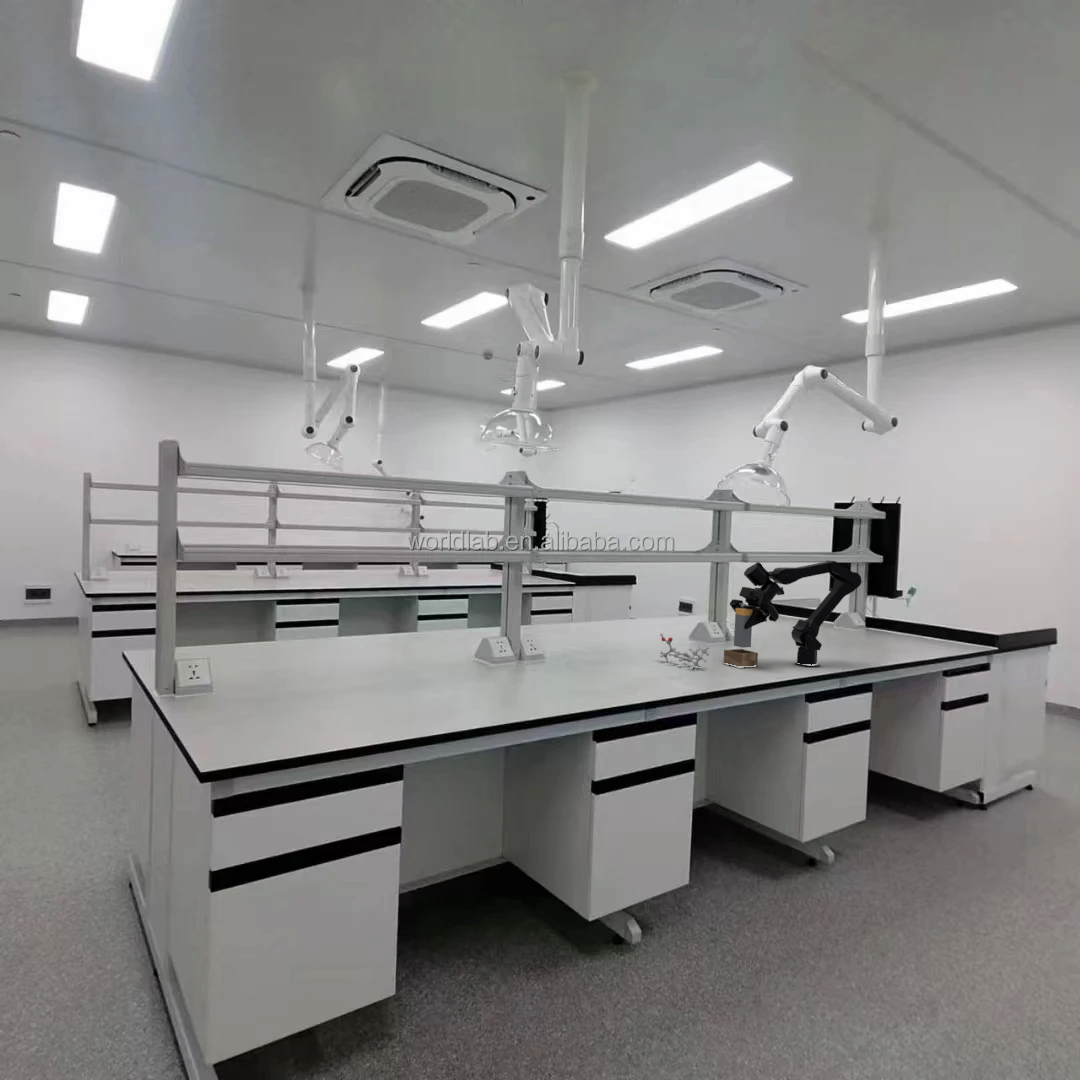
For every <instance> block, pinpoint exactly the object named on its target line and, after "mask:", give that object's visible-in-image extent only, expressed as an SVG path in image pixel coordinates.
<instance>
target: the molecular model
mask: <svg viewBox="0 0 1080 1080" xmlns="http://www.w3.org/2000/svg"><path fill="white" fill-rule="evenodd" d="M659 635H660V637H661V641H662V642H666V645H668V646H669V651H667V652H663V651H660V653H659V654H660V656H659V657H660V658H665V661H666V660H667V661H668V660H669V659H668V656H669V657H671V656H672V657H674V658H676V659H677V658H678V662H679V663H682V662H684V661H685V662H688V663H693V665H692V667H693V668H694V667H695V668H696V667H698V668H699V667H701V668H702V665H700V664H699V662H700V661H701V660H702V661H703V662H704V663H707V659H706V658H703V657H704V654H705V655H706V656H708V657H709V656H710V654H709V652H707V651H708V650H710V646H709V645H707V646H706V648H705V649H703V648H702V646H700V645H699V646H698V647H697V649H696V650H693V648H692V647H689V648H688V651H690V652H691V653H692V655H691V654H689V652H688V651H685V652H684V653H683V652H680V651H679V650H676V649H677V648H676V647H672V645H671V643H672V641H674V640H673V637H671V636H670V637H668V639H666V637H664V633H662V632H660V634H659ZM700 650H701V654H700V655H699V654H698V652H700ZM695 656H696V657H695ZM694 660H696V661H694ZM668 662H669V661H668Z"/></svg>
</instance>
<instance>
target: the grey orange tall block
mask: <svg viewBox="0 0 1080 1080" xmlns="http://www.w3.org/2000/svg"><path fill="white" fill-rule="evenodd" d="M752 611H753V610H752V609H746V608H736V612H735V611H734V612H735V614H734V633H733V634H734V636H733V646H734V647H737V648H741V649H743V648H751V647H752V630H753V628H752V627H753V626H752V627H750V628H748V629H745V628H744V626H745V624H746V623H747V621H748V620H749V618H750V617H751V615H752Z"/></svg>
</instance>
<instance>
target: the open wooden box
mask: <svg viewBox="0 0 1080 1080" xmlns="http://www.w3.org/2000/svg"><path fill="white" fill-rule="evenodd" d="M758 658H759V652H756V651H752V650H746V649H743V648H734V649H732V648H731V649H724V650H723V664H724V663H728V664H732V665H736V666H754V665H757V666H758V661H759V659H758Z"/></svg>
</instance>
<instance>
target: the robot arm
mask: <svg viewBox="0 0 1080 1080" xmlns="http://www.w3.org/2000/svg"><path fill="white" fill-rule="evenodd" d="M823 574H829V575H830V576H831V577H832V578H833V579H834V581H833V585H832V589H831V590H830V591H829V593H827V595H826V596H825V598H824V599H823V600H822V601H821V602H820V603H819V605H818V606H817V607H816V608H815V610H814V611H813V612H812V613H811V614H810V616H809V617H808V618H807V619H806V620H805V619H804V620H803V619H798V621H797V623H796V624H795V625H794V626H792V627H791V628H792V631H791V633H790V634H791V638H792V640H793V641H794V643H795V646H797V656H796V657H797V658H796V662H797V663H800V664H811V665H812V664H816V663H817V662H818V651H821V648H822V646H823V645H822V643H821V642H820V641H819V640H818V639H817V637H818V635H819V633H820V632H819V631H820V627H821V626H822V625H823V624H824V622H825V621H826V619H827V618H828V617H830V615H831V613H832V612H833V611H834V610H835V609H836V608H837V606H838V605H839V604H840V603H841V602H842V600H843V599H844V598H845V597H846V596H848V595H849V594H851V593H854V592H855V590H857V589H858V588H859V587H860V586H861V584H862V583H863V581H862V576H861V575H860V573H858V572H854V571H852V570H850V569H848V568H847V567H845V566H843V565H841V564H840V563H838V562H837V561H835V560H826V561H824V562H823V561H822V562H817V563H813V564H807V565H802V566H798V567H788V566H787V567H776V568H774V569H773V570H772V571H768V570H766V568H765V567H764V566H763V565H762V563H761V562H760V561H759V562H758V561H757V562H756V563H754V564H752V565H751V566H749V567H747V568H746V569H745V570H744V572H743V575H744V576H745V577H746V579H748V580H749V582H750V583H751V584H753V586H754V588H751V587H748V586H747V587H746V586H742V587H741V589H740V591H739V596H740V597H742V598H744V599H745V600H744V601H745V603H744V601H743V600H742V599H741V600H740V599H732V600H731V601H730V602H729V605H730V607H731V608H732V610H733V611H734V612H736V608H746V609H752V610H753V611H752V615H751V617H750V618H749V620H748V621H747V623H746V624H745V626H744V628H745V629H748V628H750V627H755V626H756V625H758V624H759V625H760V624H761V623H764V622H766V623H767V621H771V622H775V623H776V622H777V621H778V619H779V617H780V614H779V613H778V610H776V608H775V606H774V605H773V602H772V600H773V599H774V598H775V597H776V595H777V596H781V595H785V590H784V587H783V586H780V585H785V586H786V585H790V584H794V583H795V582H797V581H799V580H801V579H804V578H808V577H813V576H819V575H823ZM779 584H780V585H779ZM767 618H768V619H767ZM817 664H818V663H817Z"/></svg>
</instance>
